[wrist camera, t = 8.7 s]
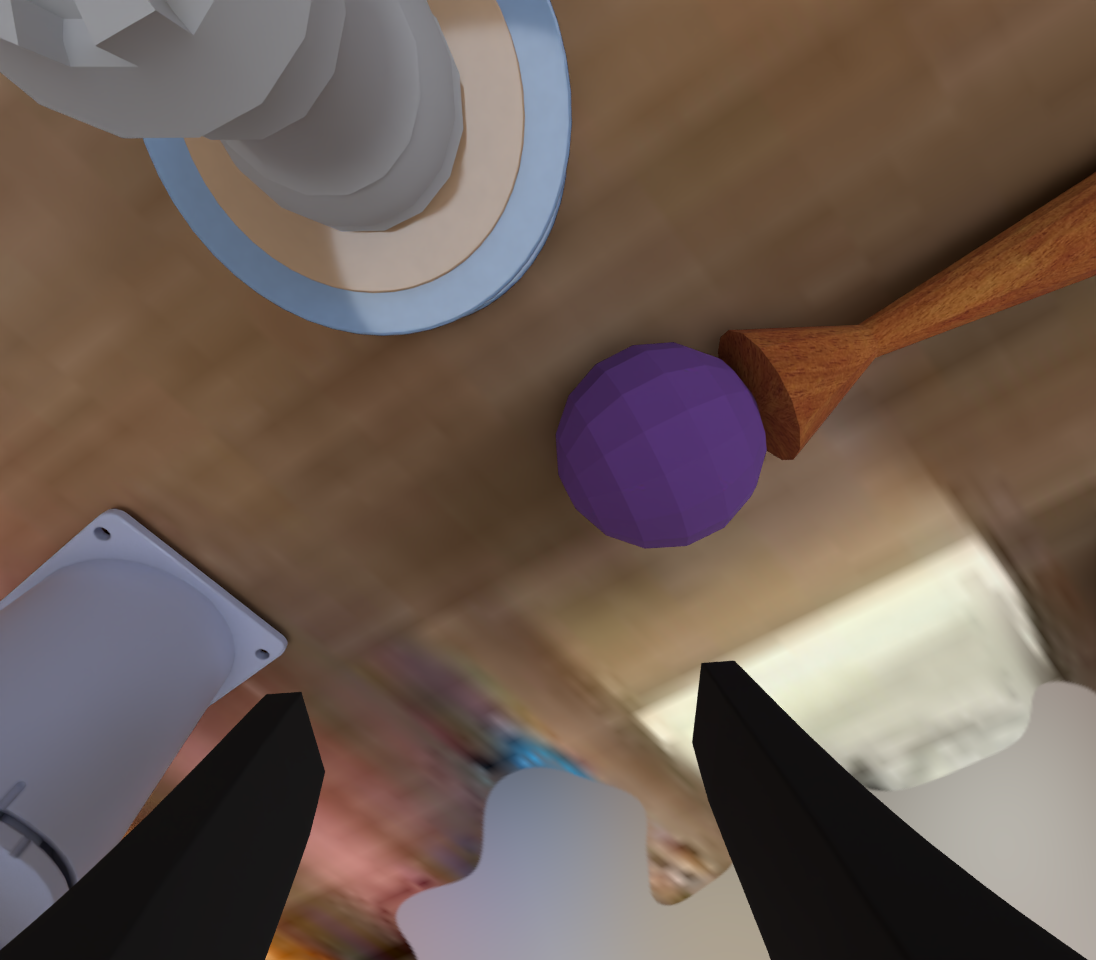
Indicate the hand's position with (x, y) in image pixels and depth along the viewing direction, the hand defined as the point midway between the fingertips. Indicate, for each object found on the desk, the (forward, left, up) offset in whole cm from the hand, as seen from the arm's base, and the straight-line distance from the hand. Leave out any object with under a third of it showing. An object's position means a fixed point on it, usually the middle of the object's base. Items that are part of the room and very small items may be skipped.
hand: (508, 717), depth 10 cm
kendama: (+12, -2, -11) cm, 16 cm away
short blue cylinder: (+4, +10, -10) cm, 15 cm away
